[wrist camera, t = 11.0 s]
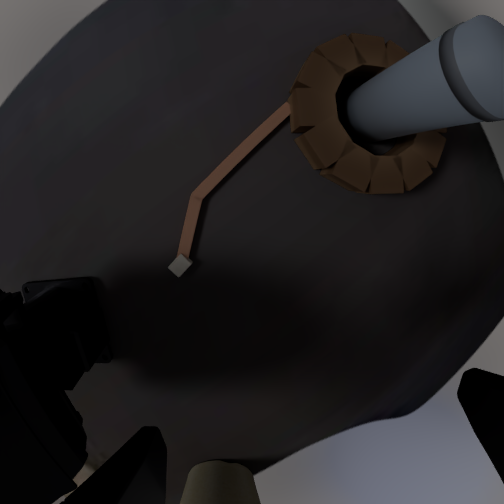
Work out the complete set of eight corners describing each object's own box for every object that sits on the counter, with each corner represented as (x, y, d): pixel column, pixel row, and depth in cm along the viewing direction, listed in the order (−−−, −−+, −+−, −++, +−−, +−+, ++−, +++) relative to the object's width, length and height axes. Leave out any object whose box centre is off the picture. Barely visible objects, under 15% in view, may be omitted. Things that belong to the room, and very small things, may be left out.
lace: (180, 274, 19) (178, 277, 19) (146, 243, 19) (144, 245, 18) (318, 136, 18) (321, 135, 17) (285, 103, 17) (287, 100, 17)
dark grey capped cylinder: (362, 154, 18) (514, 138, 6) (326, 109, 18) (450, 31, 6) (397, 124, 18) (544, 91, 6) (364, 80, 17) (492, 3, 5)
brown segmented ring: (296, 195, 19) (306, 197, 16) (280, 45, 16) (287, 28, 14) (430, 189, 19) (450, 192, 17) (413, 58, 17) (431, 47, 15)
